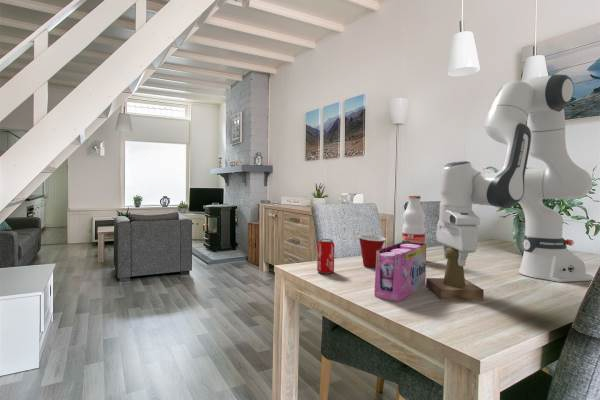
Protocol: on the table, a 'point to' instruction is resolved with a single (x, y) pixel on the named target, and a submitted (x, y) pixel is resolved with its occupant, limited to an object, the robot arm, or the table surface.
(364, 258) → the plastic cup
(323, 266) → the soda can
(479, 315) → the table surface
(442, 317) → the table surface
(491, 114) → the robot arm
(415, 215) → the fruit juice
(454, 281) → the cork
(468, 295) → the walnut block
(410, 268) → the gum box
